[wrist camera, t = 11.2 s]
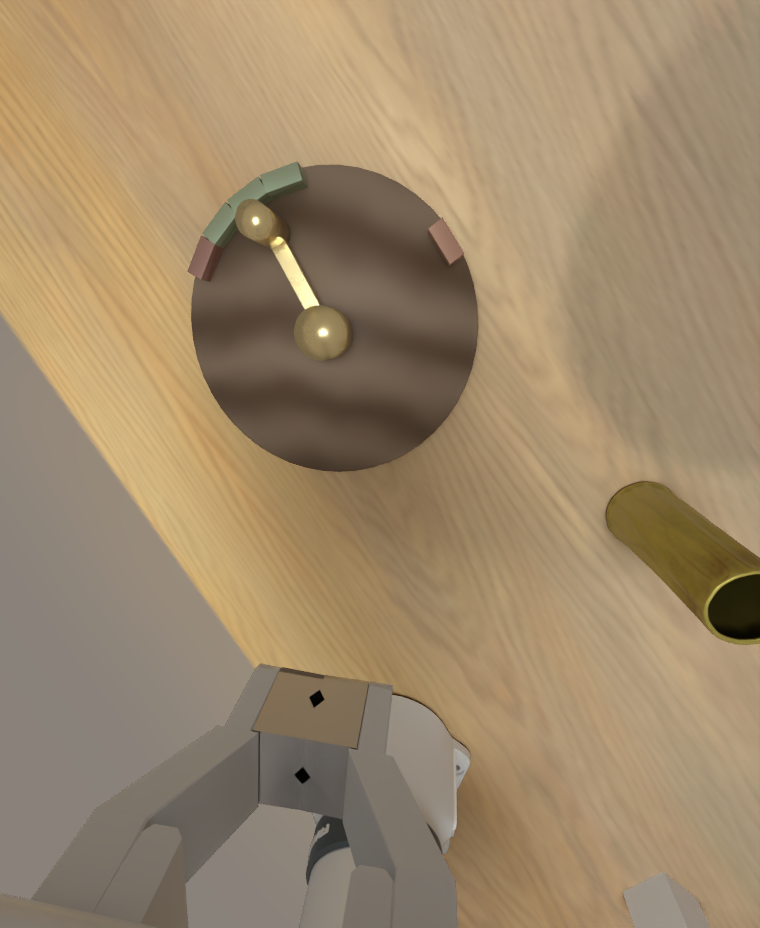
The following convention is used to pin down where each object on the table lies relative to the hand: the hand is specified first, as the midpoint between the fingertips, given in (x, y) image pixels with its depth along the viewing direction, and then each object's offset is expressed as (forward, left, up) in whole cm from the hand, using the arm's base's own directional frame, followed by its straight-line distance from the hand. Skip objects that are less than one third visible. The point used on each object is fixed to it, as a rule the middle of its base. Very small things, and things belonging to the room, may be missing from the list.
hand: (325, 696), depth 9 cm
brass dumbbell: (+10, +9, -29) cm, 32 cm away
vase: (-6, -22, -31) cm, 39 cm away
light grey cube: (-55, -37, -31) cm, 73 cm away
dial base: (+7, +7, -31) cm, 33 cm away
